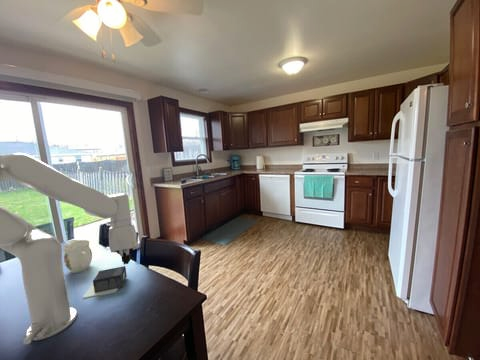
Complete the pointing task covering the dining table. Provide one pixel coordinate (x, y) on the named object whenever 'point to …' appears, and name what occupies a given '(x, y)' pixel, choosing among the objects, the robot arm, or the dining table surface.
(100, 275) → the box
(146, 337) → the dining table surface
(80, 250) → the pitcher
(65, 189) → the robot arm
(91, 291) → the mat
